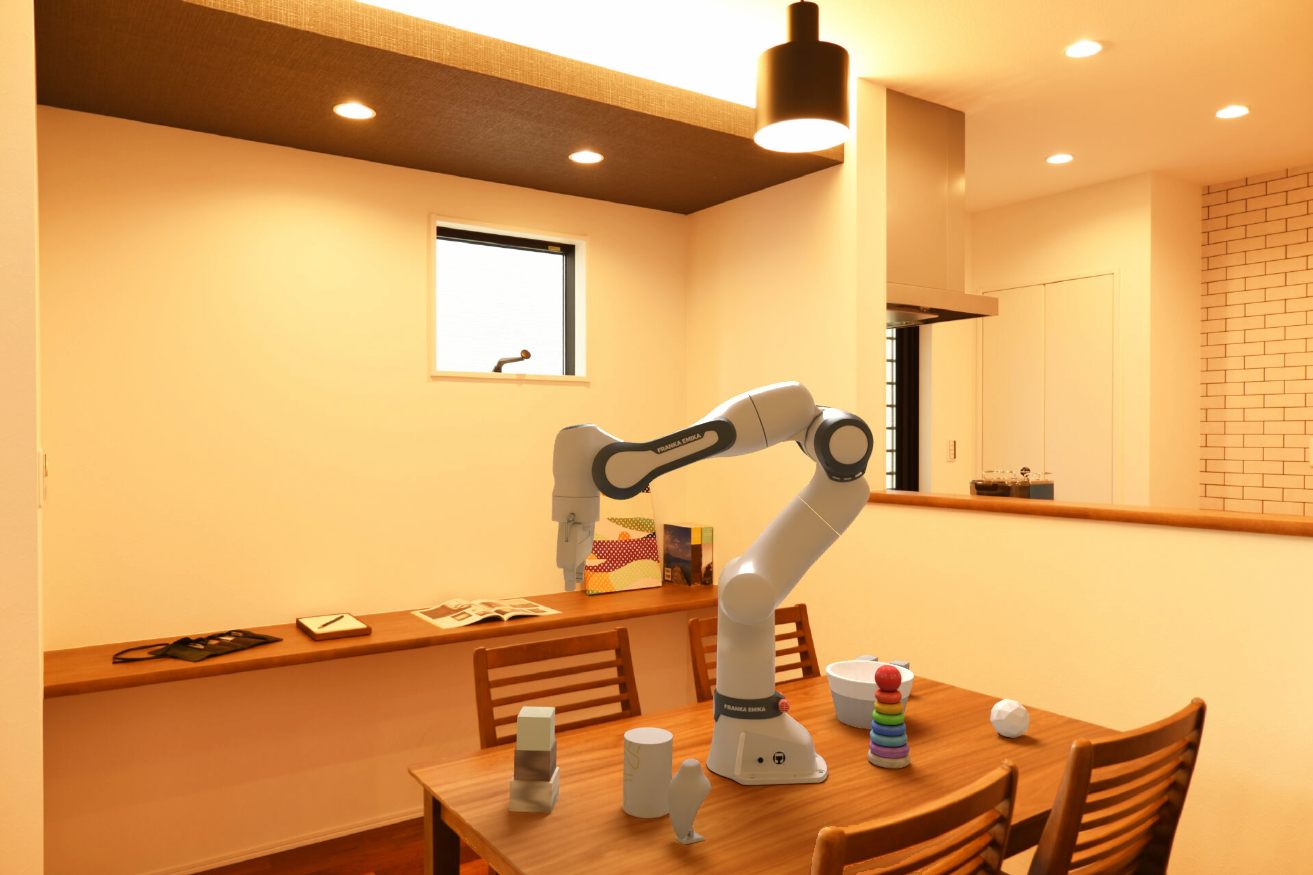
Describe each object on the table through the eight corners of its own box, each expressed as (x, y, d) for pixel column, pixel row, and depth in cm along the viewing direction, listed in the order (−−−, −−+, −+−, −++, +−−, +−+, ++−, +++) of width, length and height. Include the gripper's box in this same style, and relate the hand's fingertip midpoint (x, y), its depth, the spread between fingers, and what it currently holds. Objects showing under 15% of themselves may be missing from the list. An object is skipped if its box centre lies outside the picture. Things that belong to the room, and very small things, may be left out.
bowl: (845, 700, 205) (846, 655, 205) (925, 717, 194) (926, 669, 194) (810, 721, 189) (811, 672, 189) (895, 740, 178) (896, 688, 178)
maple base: (558, 796, 148) (559, 767, 148) (551, 813, 141) (551, 783, 141) (518, 794, 148) (519, 765, 148) (509, 811, 141) (509, 781, 141)
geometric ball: (1007, 745, 184) (1016, 710, 188) (1033, 743, 177) (1041, 707, 181) (978, 728, 183) (987, 694, 187) (1003, 726, 176) (1012, 690, 180)
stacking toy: (876, 751, 171) (877, 657, 171) (916, 760, 167) (917, 664, 167) (861, 763, 165) (862, 665, 165) (902, 773, 160) (903, 672, 160)
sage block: (554, 739, 147) (555, 707, 147) (549, 750, 142) (550, 717, 142) (522, 738, 147) (523, 706, 147) (516, 749, 142) (517, 716, 142)
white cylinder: (621, 797, 147) (623, 727, 147) (668, 796, 148) (670, 726, 148) (624, 818, 139) (625, 744, 139) (673, 817, 140) (675, 743, 140)
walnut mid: (556, 767, 147) (556, 738, 147) (549, 781, 141) (550, 751, 141) (521, 766, 148) (522, 737, 148) (513, 779, 142) (514, 749, 142)
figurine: (659, 834, 133) (660, 757, 134) (686, 825, 137) (687, 750, 137) (689, 853, 127) (690, 772, 127) (716, 844, 131) (717, 765, 131)
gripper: (584, 516, 148) (583, 596, 148) (599, 507, 168) (598, 578, 168) (548, 515, 148) (546, 595, 148) (567, 507, 169) (566, 577, 169)
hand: (574, 586), depth 158 cm, fingers open, 8 cm apart
